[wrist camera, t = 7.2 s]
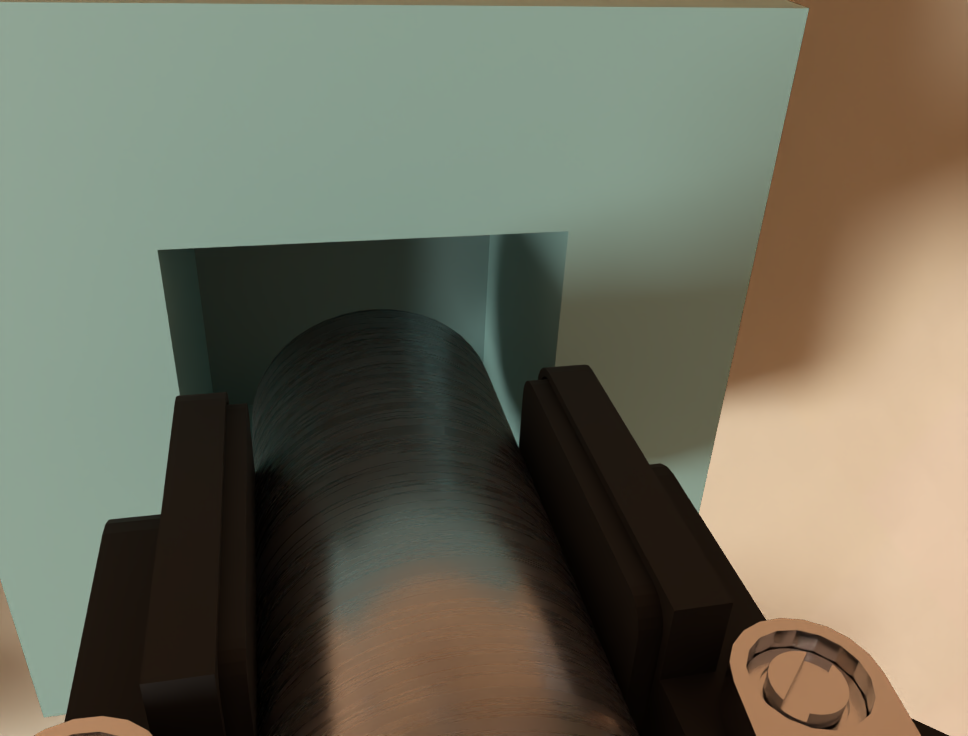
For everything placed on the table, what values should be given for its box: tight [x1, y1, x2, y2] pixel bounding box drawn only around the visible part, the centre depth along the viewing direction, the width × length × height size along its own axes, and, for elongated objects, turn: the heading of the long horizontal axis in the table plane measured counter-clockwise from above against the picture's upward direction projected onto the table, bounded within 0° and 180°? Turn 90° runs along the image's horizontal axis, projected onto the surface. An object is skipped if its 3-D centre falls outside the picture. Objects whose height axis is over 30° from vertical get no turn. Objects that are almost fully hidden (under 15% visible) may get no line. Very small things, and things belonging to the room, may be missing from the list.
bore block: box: [0, 0, 809, 717], centre depth 14 cm, size 10×10×6 cm
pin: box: [252, 309, 639, 736], centre depth 8 cm, size 3×3×10 cm
